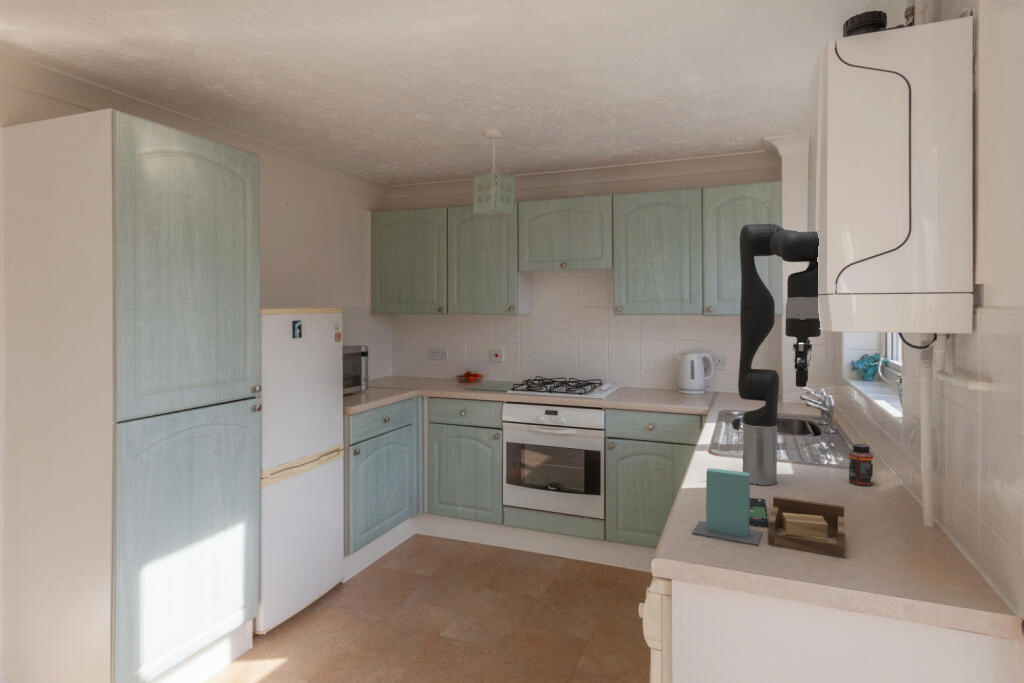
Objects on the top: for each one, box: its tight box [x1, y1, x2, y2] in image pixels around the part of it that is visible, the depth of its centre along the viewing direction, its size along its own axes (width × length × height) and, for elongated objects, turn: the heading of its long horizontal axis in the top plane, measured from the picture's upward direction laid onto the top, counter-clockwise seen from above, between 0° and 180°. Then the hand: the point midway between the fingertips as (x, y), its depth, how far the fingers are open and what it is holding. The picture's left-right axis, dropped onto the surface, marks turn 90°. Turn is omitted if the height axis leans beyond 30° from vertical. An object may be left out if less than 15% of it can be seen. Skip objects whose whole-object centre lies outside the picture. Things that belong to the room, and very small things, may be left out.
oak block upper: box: [782, 513, 828, 539], centre depth 125 cm, size 5×8×3 cm, turn 73°
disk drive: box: [749, 497, 769, 528], centre depth 143 cm, size 10×3×15 cm
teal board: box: [705, 467, 751, 537], centre depth 131 cm, size 2×9×14 cm, turn 61°
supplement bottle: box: [848, 443, 874, 487], centre depth 166 cm, size 6×6×11 cm
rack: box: [767, 496, 846, 558], centre depth 127 cm, size 12×14×7 cm
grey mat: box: [691, 520, 763, 547], centre depth 131 cm, size 8×14×1 cm, turn 61°
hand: (801, 384), depth 137 cm, fingers open, 8 cm apart
